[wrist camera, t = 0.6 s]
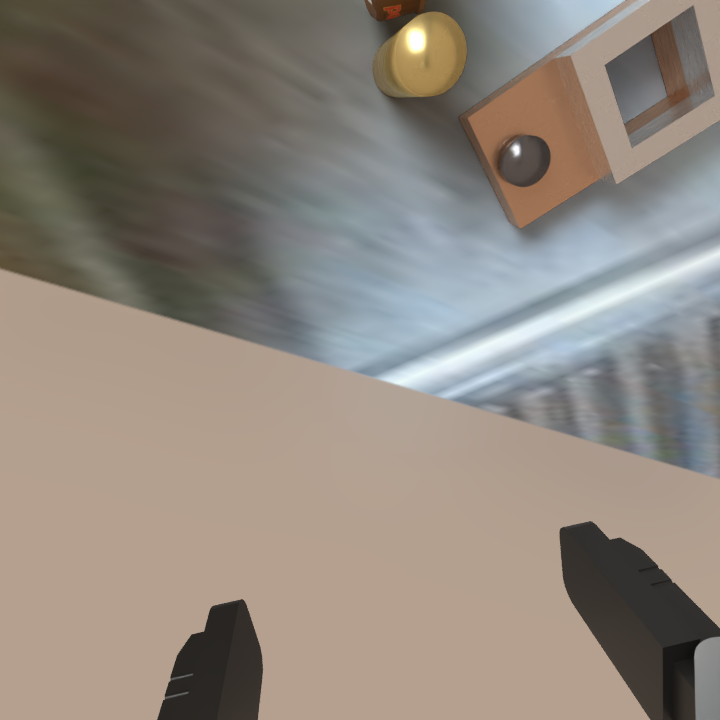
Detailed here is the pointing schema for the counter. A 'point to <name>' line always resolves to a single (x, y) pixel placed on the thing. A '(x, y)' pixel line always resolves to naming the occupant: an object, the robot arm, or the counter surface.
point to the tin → (393, 8)
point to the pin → (421, 57)
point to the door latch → (596, 107)
